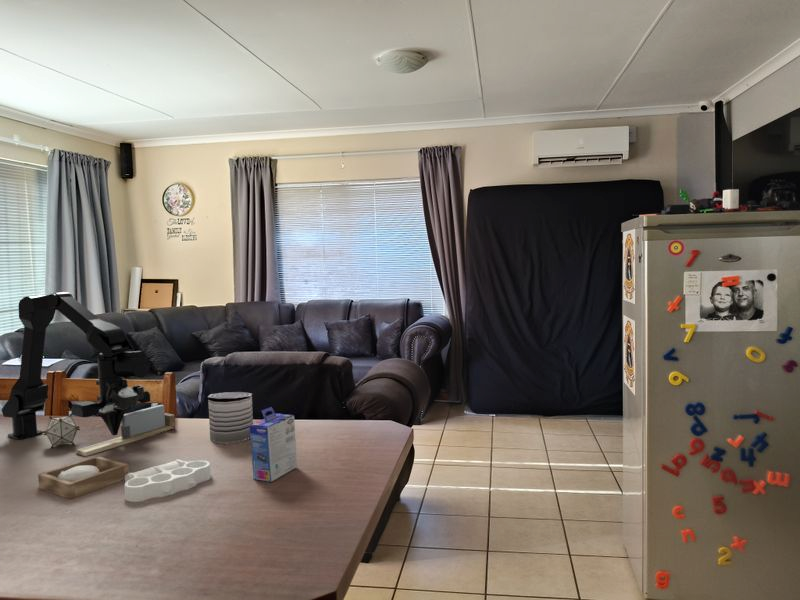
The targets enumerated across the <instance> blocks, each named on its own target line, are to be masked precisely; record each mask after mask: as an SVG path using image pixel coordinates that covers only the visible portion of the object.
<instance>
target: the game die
mask: <svg viewBox="0 0 800 600" xmlns="http://www.w3.org/2000/svg"><path fill="white" fill-rule="evenodd" d="M72 416H73V415H72V412H70V415H68V416H67V415H66V416H59V417H52V416H50V415H49V416H48V417H49V419H50V420H49V423H48V425H47V427H46V429H45V430H42V431H43V432H42V434H43V435H44V436H47V439H48V440H49V442H50V444H51V446H50V449H51V448H52V449H53V448H54V446H60V445H68V444H69V445H70V444H71V445H72V446H75V443H74V440H75V437H76V434H77V431H80V430H81V428H80V426H79V425H76V422H75V421H74V419H73V417H72Z"/></svg>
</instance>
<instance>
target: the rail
mask: <svg viewBox="0 0 800 600" xmlns="http://www.w3.org/2000/svg"><path fill="white" fill-rule="evenodd" d="M164 413H165V426H164V427H161V428H158V429H154V430H151V431H148V432H144V433H141V434H138V435H134V436H131V437H129V438H124V437H122V435H121V436H117V437H115V438H111V439H108V440H104V441H101V442H98V443H95V444H92V445H88V446H84V447H81V448H78V449H76V450H75V451H76V454H77V455H79V456H80V455H81V456H83V457H88V456H91V455H94V454H97V453H100V452H103V451H107V450H110V449H115V448H116V447H119V446H123V445H126V444H129V443H133V442H136V441H140V440H143V439H146V438H149V437H152V436H155V435H154V434H156V435H158V434H157V433H159V434H161V433H160V432H162V433H164V432H163V431H165V432H167V430H169V431H171V430H170V429H172V430H174V429H173V428H175V429H176V420H175V414H173V413H167V412H164ZM151 435H152V436H151ZM148 436H149V437H148ZM145 437H146V438H145Z"/></svg>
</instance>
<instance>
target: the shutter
mask: <svg viewBox="0 0 800 600" xmlns="http://www.w3.org/2000/svg"><path fill="white" fill-rule="evenodd" d="M165 413H166V412H165V405H164V404H159V405H154V406H151V407H147V408H142V409H139V410H134V411H132V412H128V413H127V412H126V413H125V414H124V416H123V418H122V421H121V425H120V432H121V436H122V437H124V438H129V437H131V436H134V435H138V434H141V433H144V432H148V431H151V430H154V429H158V428H161V427H164V426H165Z"/></svg>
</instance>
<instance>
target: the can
mask: <svg viewBox="0 0 800 600" xmlns="http://www.w3.org/2000/svg"><path fill="white" fill-rule="evenodd" d="M207 398H208V400H207V402H208V419H209V421H208V422H209V437H210V438H209V440H210V441H211V442H212V443H214V442H215V443H214V444H222V443H230V444H234V443H233V442H237V443H240V442H239V441H243V440H245V439H248V438H250V425H252V424H254V416H253V415H254V414H253V412H254V411H253V393H250V392H244V391H243V392H242V391H233V392H232V391H231V392H229V391H228V392H227V391H226V392H218V393H211V394H209V395H208V396H207ZM248 440H249V439H248ZM245 441H246V440H245ZM243 442H244V441H243Z"/></svg>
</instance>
